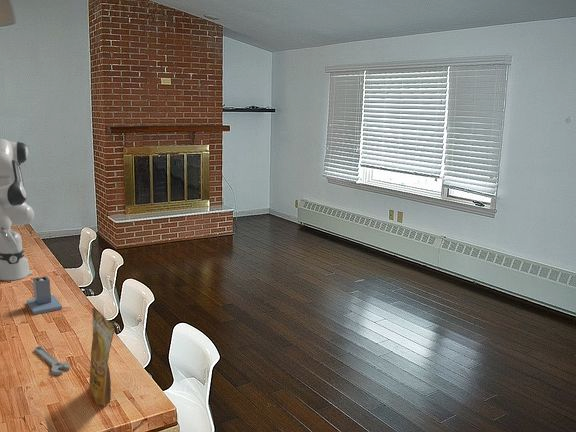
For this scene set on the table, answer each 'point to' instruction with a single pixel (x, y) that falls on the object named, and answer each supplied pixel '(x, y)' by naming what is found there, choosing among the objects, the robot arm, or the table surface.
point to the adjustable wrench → (52, 361)
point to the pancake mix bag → (100, 359)
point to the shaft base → (44, 305)
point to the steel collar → (42, 290)
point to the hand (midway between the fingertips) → (14, 247)
